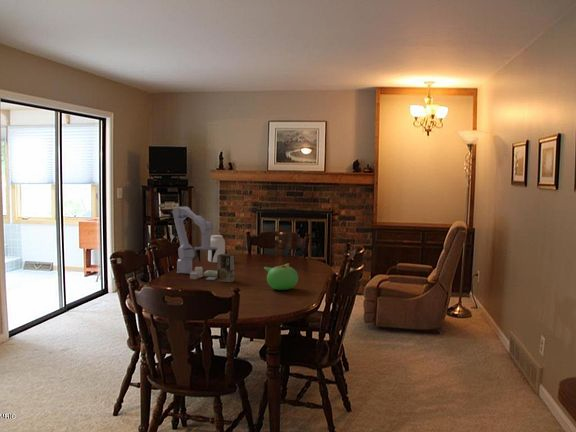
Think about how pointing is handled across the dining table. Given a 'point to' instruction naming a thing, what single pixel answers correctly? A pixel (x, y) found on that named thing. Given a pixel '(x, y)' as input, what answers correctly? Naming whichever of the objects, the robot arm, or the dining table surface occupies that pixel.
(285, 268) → the green rounded lump
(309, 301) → the dining table surface
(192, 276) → the cable plug
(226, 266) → the coffee box
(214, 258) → the can
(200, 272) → the charger
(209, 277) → the phone
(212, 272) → the outlet plate
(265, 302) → the dining table surface
